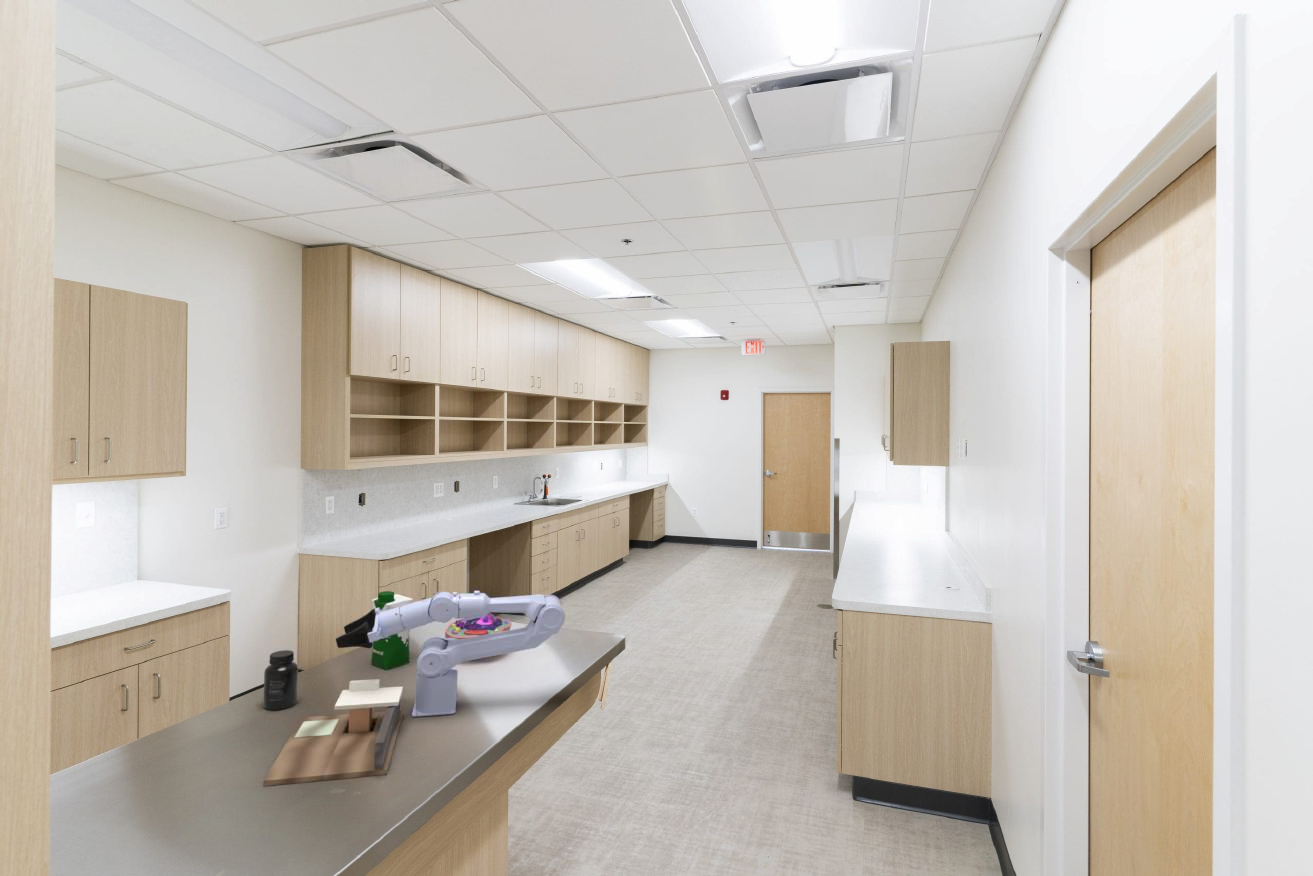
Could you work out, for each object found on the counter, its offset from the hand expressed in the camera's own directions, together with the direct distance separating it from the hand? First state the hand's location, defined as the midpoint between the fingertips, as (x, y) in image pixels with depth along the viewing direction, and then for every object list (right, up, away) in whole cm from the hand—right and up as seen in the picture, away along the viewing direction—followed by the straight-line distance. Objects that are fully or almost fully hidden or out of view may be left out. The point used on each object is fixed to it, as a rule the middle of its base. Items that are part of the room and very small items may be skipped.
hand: (341, 637), depth 144 cm
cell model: (+19, -18, +41) cm, 48 cm away
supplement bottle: (-16, -17, +4) cm, 24 cm away
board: (+6, -18, -13) cm, 24 cm away
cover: (+9, -12, -6) cm, 16 cm away
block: (+7, -18, -6) cm, 21 cm away
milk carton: (-2, -17, +31) cm, 35 cm away
